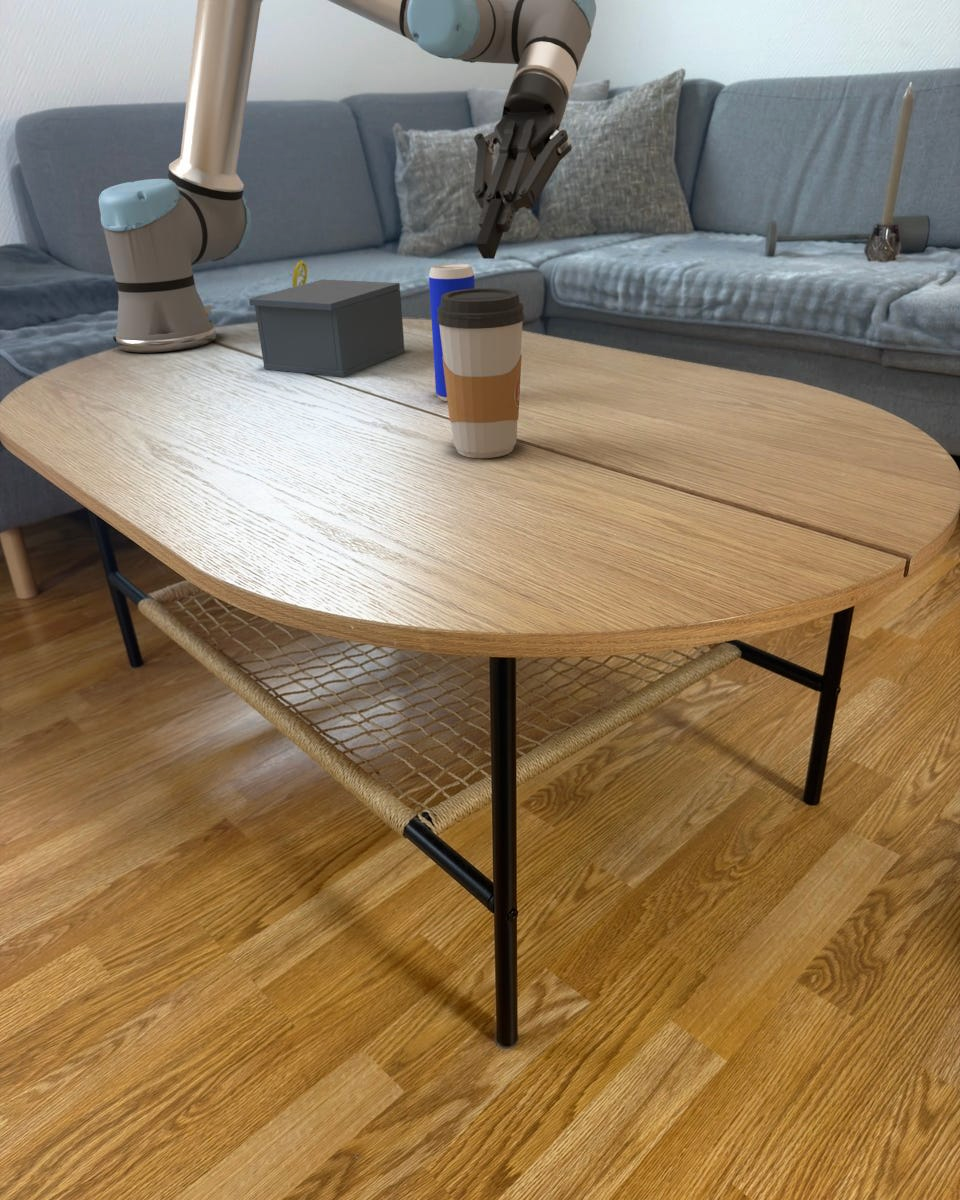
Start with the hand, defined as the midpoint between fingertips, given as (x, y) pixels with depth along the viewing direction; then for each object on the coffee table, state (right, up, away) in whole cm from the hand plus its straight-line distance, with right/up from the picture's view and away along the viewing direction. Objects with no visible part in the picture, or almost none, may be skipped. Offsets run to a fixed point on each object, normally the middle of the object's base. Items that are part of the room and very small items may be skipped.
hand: (484, 251), depth 106 cm
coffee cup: (0, -27, -17) cm, 32 cm away
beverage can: (-3, -18, 0) cm, 18 cm away
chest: (-21, -8, +19) cm, 30 cm away
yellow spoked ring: (-32, +2, +39) cm, 51 cm away
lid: (-22, 0, +15) cm, 26 cm away
